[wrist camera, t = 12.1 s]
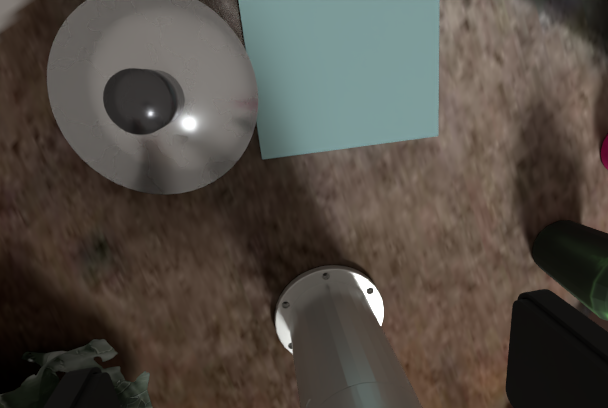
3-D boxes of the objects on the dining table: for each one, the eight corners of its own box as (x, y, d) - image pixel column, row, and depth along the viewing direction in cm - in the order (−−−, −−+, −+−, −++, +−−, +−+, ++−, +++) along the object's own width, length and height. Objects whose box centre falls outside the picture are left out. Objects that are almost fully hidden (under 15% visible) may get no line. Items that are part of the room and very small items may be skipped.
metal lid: (270, 177, 32) (274, 198, 27) (87, 204, 31) (52, 231, 25) (241, -24, 27) (237, -49, 22) (21, -2, 26) (-41, -23, 20)
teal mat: (436, 135, 39) (438, 135, 39) (262, 158, 38) (262, 159, 37) (437, -71, 33) (439, -73, 33) (230, -53, 32) (230, -55, 31)
